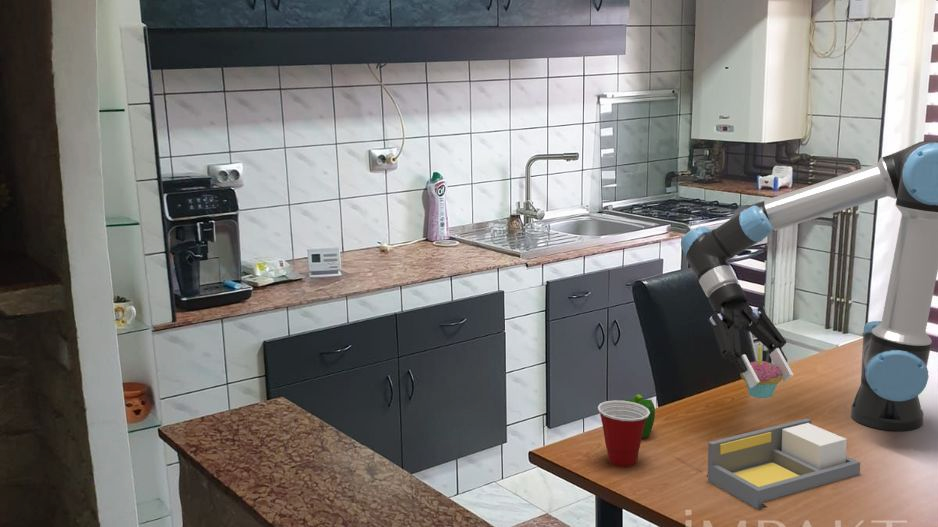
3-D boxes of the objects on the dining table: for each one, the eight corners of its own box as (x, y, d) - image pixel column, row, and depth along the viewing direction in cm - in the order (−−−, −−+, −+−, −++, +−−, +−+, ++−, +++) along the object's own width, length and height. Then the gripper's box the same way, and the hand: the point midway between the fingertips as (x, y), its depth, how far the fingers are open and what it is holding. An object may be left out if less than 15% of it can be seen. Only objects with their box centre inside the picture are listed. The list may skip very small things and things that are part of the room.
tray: (805, 454, 188) (807, 418, 186) (859, 479, 175) (861, 440, 174) (707, 481, 177) (708, 442, 176) (757, 509, 165) (758, 468, 163)
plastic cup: (649, 473, 181) (650, 418, 179) (596, 470, 184) (596, 416, 181) (650, 452, 192) (650, 399, 190) (599, 450, 194) (599, 397, 192)
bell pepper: (618, 427, 207) (618, 386, 205) (654, 428, 205) (655, 387, 203) (617, 440, 199) (617, 398, 197) (654, 442, 197) (654, 399, 195)
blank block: (806, 454, 185) (808, 422, 184) (845, 472, 176) (846, 439, 175) (781, 461, 182) (782, 429, 181) (818, 479, 173) (820, 446, 172)
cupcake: (775, 404, 183) (777, 348, 180) (733, 397, 187) (735, 342, 185) (785, 391, 190) (788, 337, 187) (745, 385, 194) (747, 332, 192)
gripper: (752, 294, 203) (800, 381, 191) (676, 306, 195) (722, 398, 183) (769, 276, 197) (820, 365, 186) (692, 287, 189) (740, 381, 177)
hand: (771, 381), depth 184 cm, fingers closed on cupcake, 8 cm apart
